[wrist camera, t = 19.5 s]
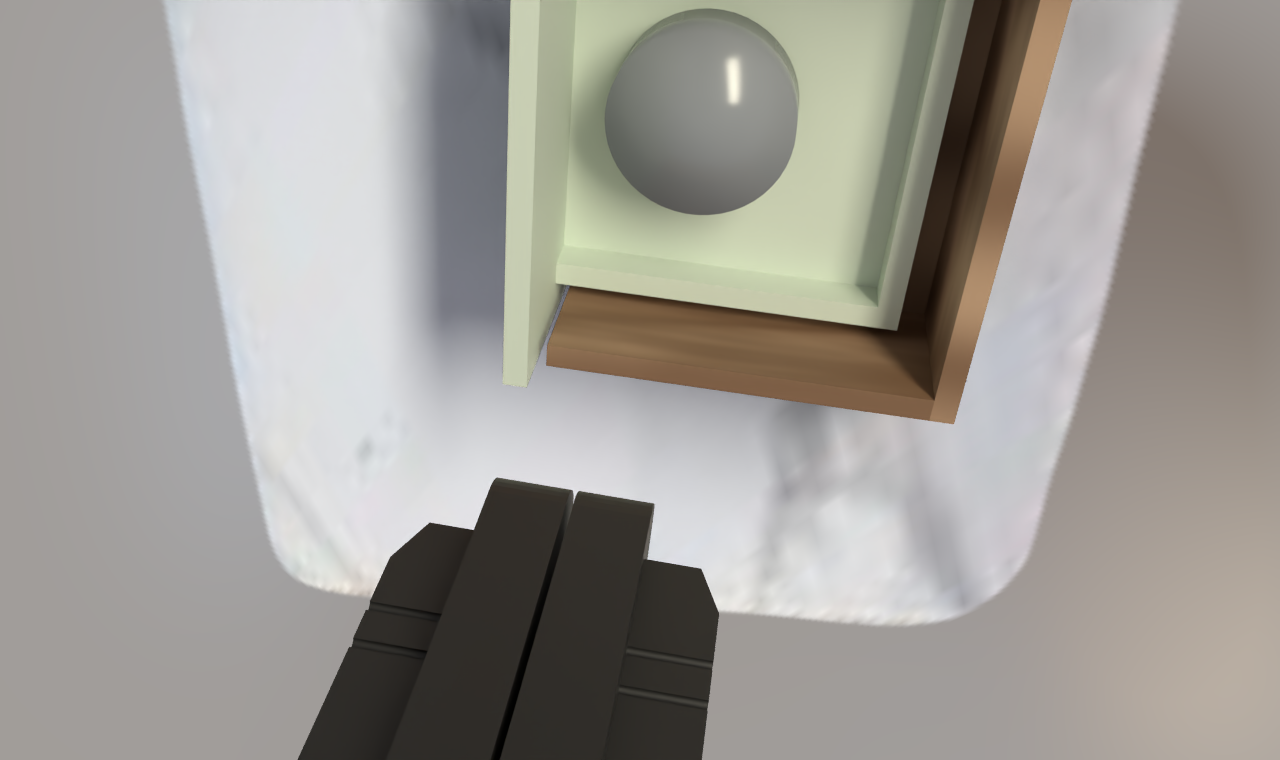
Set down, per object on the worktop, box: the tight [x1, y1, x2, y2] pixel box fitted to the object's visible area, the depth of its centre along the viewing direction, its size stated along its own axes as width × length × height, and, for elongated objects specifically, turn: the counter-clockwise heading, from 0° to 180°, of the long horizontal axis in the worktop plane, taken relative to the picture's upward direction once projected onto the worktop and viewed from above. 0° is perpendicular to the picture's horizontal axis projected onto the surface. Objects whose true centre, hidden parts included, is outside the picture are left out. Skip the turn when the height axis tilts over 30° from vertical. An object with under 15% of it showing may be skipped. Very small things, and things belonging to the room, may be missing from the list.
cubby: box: [546, 0, 1072, 424], centre depth 38 cm, size 17×14×6 cm
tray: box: [503, 0, 974, 388], centre depth 37 cm, size 17×13×7 cm
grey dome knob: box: [605, 8, 799, 215], centre depth 39 cm, size 6×6×2 cm
